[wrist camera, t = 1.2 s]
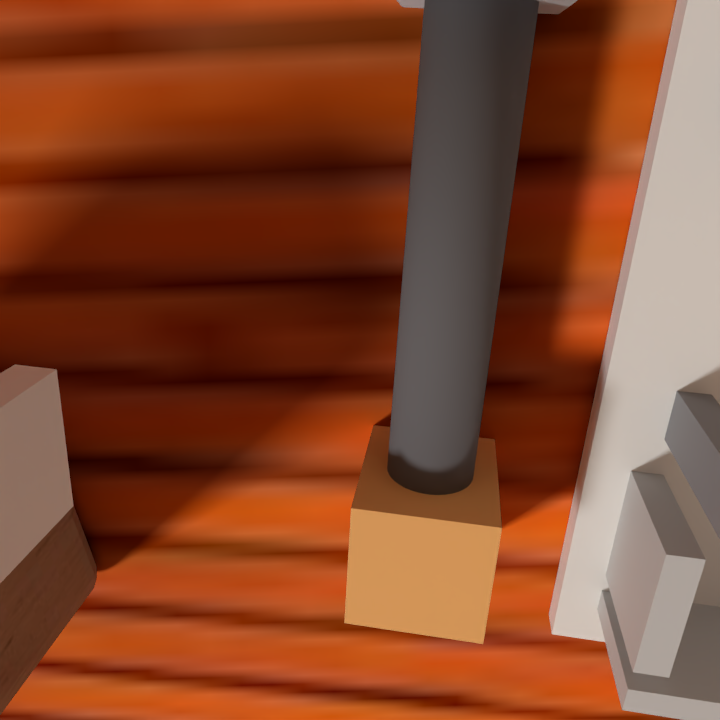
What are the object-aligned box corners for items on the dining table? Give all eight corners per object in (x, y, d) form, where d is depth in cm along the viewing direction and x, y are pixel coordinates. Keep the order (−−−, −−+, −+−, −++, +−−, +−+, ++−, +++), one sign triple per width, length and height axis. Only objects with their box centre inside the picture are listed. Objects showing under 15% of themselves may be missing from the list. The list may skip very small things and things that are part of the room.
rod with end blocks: (412, -141, 21) (393, -222, 15) (580, -137, 20) (624, -220, 15) (366, 524, 30) (344, 623, 25) (479, 539, 30) (482, 643, 24)
